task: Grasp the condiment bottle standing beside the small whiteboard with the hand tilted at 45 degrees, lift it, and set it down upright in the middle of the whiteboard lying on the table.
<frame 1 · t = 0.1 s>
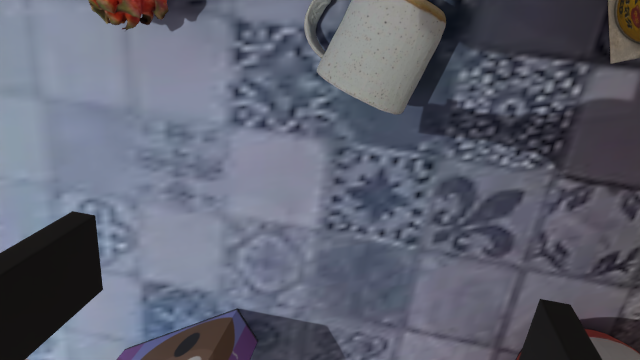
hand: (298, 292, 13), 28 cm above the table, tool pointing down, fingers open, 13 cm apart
cereal box: (189, 344, 52), on the table
ceramic mug: (368, 41, 36), on the table
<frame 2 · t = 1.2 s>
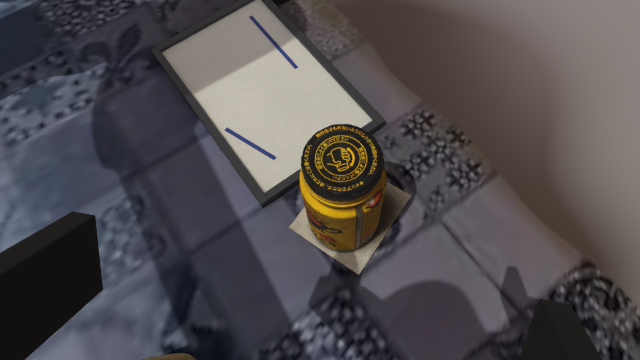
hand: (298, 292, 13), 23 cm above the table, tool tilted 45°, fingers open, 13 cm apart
condiment: (350, 213, 38), on the table
whiteboard: (262, 88, 43), on the table
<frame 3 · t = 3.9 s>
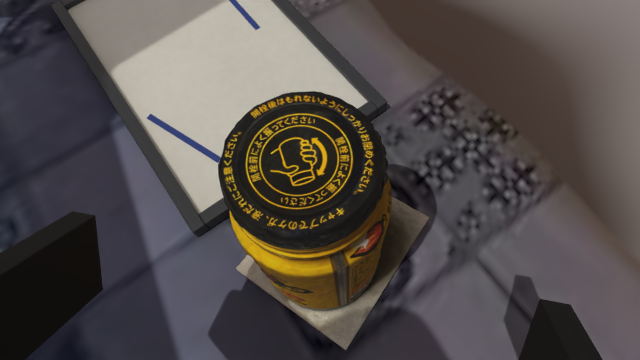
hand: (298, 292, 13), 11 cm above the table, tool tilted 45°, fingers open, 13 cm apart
condiment: (333, 245, 24), on the table
whiteboard: (208, 58, 30), on the table
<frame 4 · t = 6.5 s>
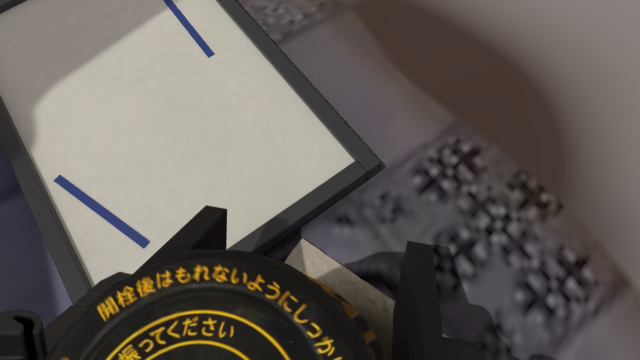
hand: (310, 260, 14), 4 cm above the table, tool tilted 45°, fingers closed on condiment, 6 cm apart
whiteboard: (145, 95, 23), on the table
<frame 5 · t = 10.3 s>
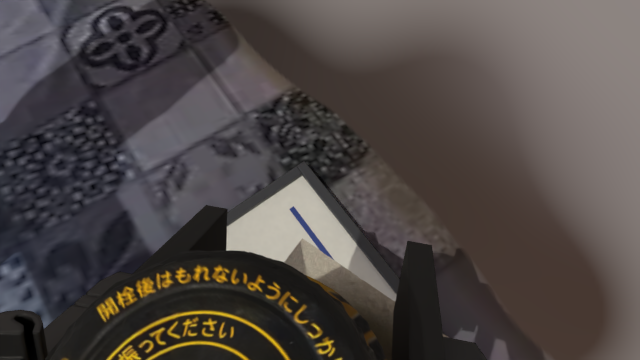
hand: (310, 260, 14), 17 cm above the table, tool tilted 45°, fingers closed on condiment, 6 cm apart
whiteboard: (314, 337, 29), on the table
when the fingers open (5 cm above the table, at t = 14.1 s): condiment stays where it is, resting on whiteboard.
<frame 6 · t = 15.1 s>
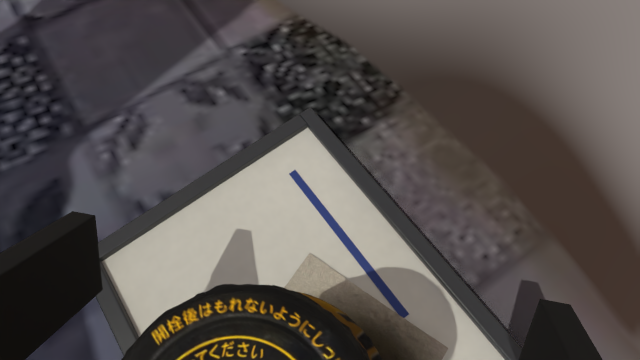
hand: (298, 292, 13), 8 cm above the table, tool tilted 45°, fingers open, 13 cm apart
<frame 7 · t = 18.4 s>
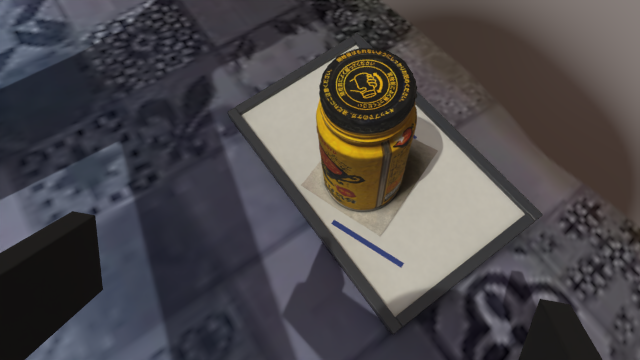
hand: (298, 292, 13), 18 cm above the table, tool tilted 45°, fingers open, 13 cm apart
condiment: (369, 170, 34), resting on whiteboard
whiteboard: (372, 164, 34), on the table
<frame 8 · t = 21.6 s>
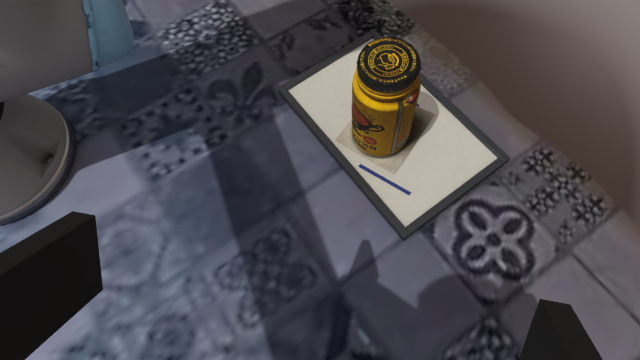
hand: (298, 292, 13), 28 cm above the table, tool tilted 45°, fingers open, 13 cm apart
condiment: (385, 129, 46), resting on whiteboard
whiteboard: (386, 125, 47), on the table
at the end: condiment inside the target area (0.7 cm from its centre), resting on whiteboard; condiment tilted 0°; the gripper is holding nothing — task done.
